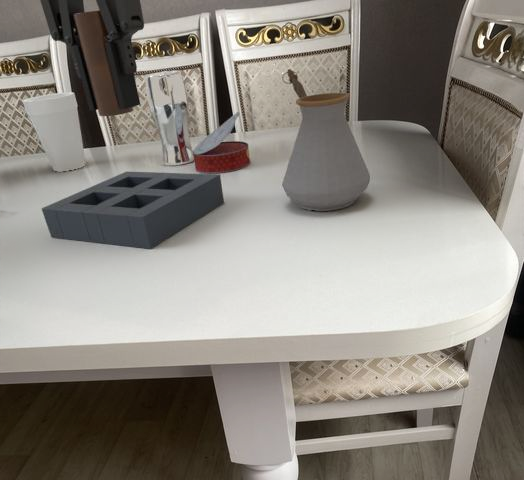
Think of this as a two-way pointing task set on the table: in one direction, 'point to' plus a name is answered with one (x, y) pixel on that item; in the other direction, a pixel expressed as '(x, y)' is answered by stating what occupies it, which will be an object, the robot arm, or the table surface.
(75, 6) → the robot arm
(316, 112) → the coffee pot
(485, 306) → the table surface
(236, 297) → the table surface
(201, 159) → the canned food
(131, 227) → the pad base
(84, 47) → the peg
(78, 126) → the foam cup
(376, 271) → the table surface
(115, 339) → the table surface
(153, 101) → the beer glass
